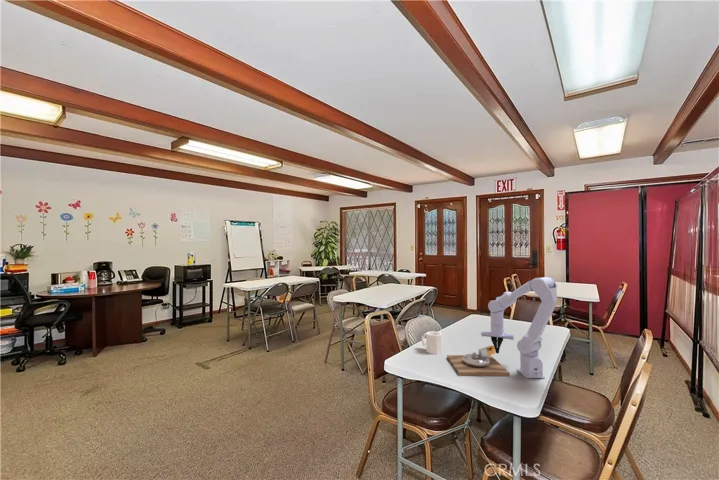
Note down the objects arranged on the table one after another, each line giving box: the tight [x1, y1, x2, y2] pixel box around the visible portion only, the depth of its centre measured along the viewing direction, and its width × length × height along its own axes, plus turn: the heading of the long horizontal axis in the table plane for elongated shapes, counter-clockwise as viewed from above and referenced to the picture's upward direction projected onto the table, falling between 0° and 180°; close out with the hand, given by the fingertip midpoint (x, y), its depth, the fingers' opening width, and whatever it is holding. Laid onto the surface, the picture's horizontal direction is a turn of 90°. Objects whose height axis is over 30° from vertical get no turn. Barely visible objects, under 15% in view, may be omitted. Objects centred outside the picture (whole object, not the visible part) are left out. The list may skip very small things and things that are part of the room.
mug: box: [420, 330, 443, 355], centre depth 174 cm, size 12×9×10 cm
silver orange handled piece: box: [462, 344, 496, 367], centre depth 154 cm, size 20×12×6 cm, turn 123°
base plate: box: [446, 354, 511, 377], centre depth 152 cm, size 22×22×2 cm
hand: (497, 352), depth 156 cm, fingers closed
